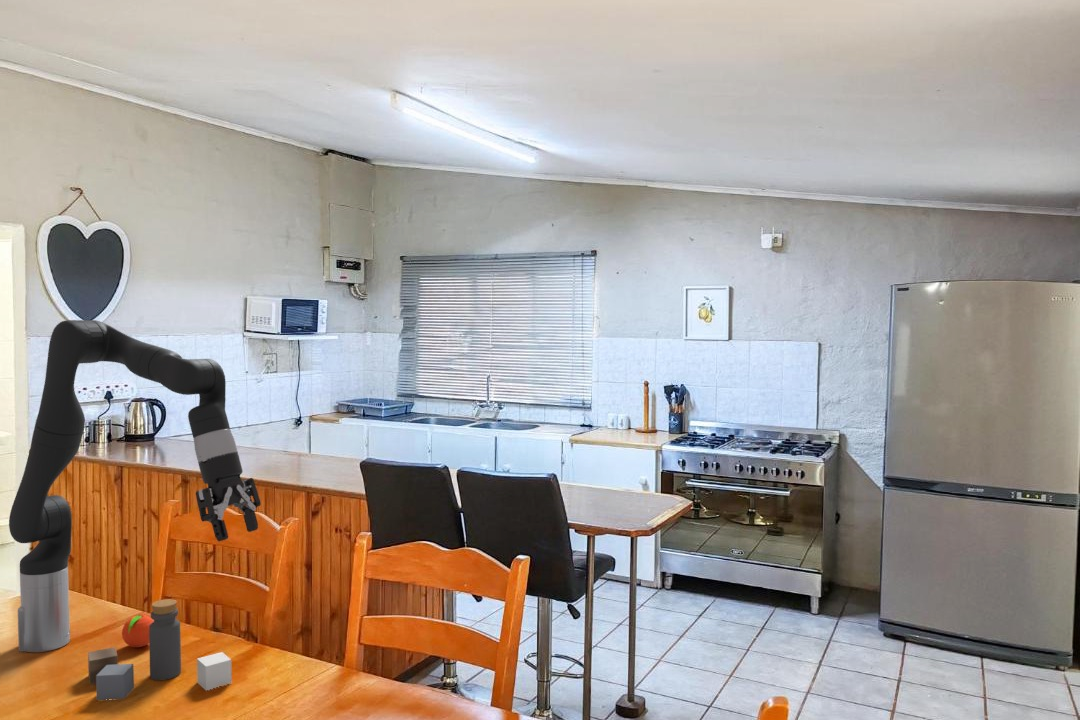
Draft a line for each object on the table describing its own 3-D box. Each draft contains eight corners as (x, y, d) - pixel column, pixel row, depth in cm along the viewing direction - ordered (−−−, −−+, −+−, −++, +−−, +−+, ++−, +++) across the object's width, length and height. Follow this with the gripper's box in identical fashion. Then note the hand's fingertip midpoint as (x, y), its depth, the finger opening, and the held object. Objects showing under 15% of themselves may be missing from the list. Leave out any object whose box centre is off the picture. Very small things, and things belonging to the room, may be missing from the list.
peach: (144, 654, 179) (144, 622, 179) (113, 654, 179) (112, 622, 179) (162, 640, 187) (161, 609, 187) (132, 640, 187) (131, 609, 187)
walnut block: (90, 685, 164) (89, 660, 164) (88, 676, 169) (88, 652, 168) (118, 679, 167) (117, 655, 167) (116, 670, 171) (115, 647, 171)
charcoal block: (96, 701, 158) (96, 675, 157) (107, 689, 163) (106, 664, 162) (124, 700, 158) (123, 674, 158) (133, 688, 163) (133, 663, 163)
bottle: (169, 681, 166) (167, 608, 165) (143, 679, 167) (142, 606, 166) (187, 669, 172) (185, 599, 171) (162, 667, 173) (160, 596, 172)
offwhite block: (206, 691, 162) (205, 666, 162) (197, 682, 166) (196, 658, 165) (231, 683, 165) (231, 659, 165) (222, 675, 169) (221, 651, 169)
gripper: (228, 456, 171) (248, 532, 169) (176, 465, 157) (197, 548, 156) (256, 446, 168) (276, 523, 167) (206, 455, 155) (227, 539, 153)
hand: (238, 535), depth 161 cm, fingers open, 8 cm apart
